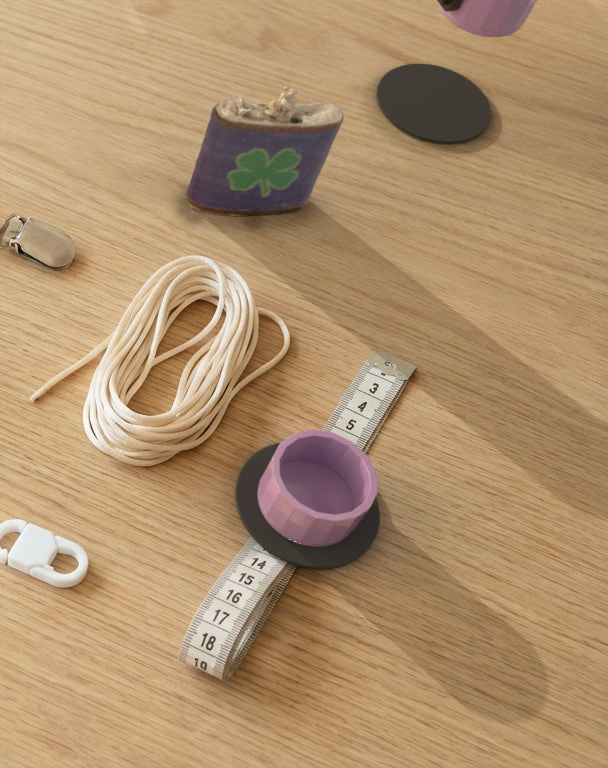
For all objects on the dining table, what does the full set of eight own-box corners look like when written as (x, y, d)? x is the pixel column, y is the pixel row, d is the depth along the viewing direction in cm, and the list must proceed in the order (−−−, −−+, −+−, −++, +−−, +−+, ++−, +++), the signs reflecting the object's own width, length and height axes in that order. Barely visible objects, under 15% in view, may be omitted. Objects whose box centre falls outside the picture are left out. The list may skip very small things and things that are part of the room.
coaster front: (341, 432, 80) (343, 430, 80) (402, 554, 75) (404, 551, 75) (214, 457, 78) (215, 454, 78) (267, 582, 74) (269, 580, 73)
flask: (303, 188, 92) (350, 80, 83) (311, 217, 91) (359, 110, 82) (182, 186, 92) (216, 77, 83) (187, 216, 90) (223, 108, 81)
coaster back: (456, 60, 101) (458, 57, 101) (509, 135, 96) (511, 133, 96) (357, 73, 100) (359, 70, 100) (406, 151, 95) (408, 148, 95)
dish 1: (332, 450, 79) (350, 422, 76) (374, 536, 75) (395, 509, 72) (242, 468, 78) (256, 439, 75) (280, 555, 74) (297, 529, 71)
